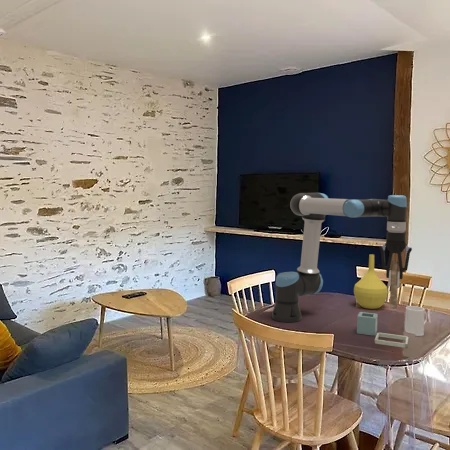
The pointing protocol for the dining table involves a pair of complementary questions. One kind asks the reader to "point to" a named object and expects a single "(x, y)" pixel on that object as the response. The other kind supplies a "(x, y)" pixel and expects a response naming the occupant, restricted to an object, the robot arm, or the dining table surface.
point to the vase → (370, 289)
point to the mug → (415, 320)
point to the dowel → (393, 284)
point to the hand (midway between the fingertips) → (394, 285)
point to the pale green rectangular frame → (391, 341)
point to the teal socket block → (367, 323)
